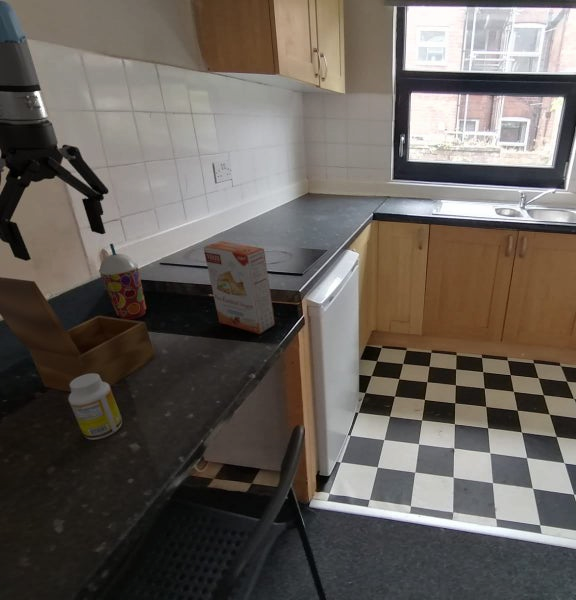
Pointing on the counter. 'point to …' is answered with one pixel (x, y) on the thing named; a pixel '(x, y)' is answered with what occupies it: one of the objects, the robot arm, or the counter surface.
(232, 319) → the cracker box
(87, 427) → the supplement bottle
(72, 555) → the counter surface
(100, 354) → the chest
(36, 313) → the lid
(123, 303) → the smoothie
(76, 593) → the counter surface
